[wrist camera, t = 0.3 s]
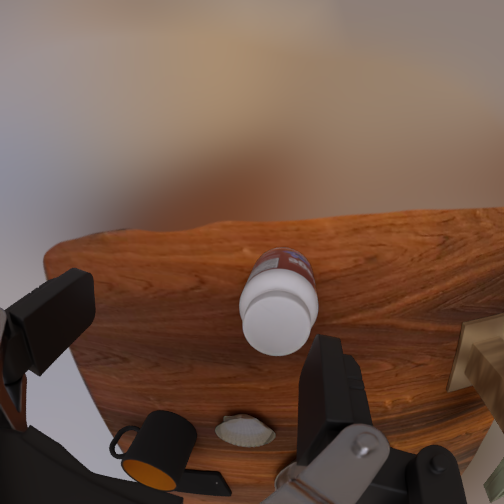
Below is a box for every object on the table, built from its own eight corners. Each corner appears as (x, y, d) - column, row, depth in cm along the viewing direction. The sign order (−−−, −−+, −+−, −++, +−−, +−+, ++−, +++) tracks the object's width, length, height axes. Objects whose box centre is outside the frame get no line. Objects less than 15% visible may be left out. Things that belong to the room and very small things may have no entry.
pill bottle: (323, 287, 30) (337, 344, 19) (271, 312, 31) (260, 376, 21) (294, 234, 29) (296, 269, 18) (241, 263, 30) (214, 310, 20)
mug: (122, 399, 39) (90, 442, 29) (194, 416, 37) (172, 469, 27) (133, 432, 41) (108, 473, 31) (199, 448, 39) (182, 497, 29)
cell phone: (134, 461, 44) (132, 464, 43) (219, 471, 40) (218, 475, 40) (153, 484, 46) (151, 487, 45) (232, 493, 42) (231, 496, 41)
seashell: (226, 428, 39) (276, 443, 37) (218, 443, 37) (269, 459, 34) (220, 398, 36) (278, 414, 33) (210, 414, 33) (270, 432, 31)
